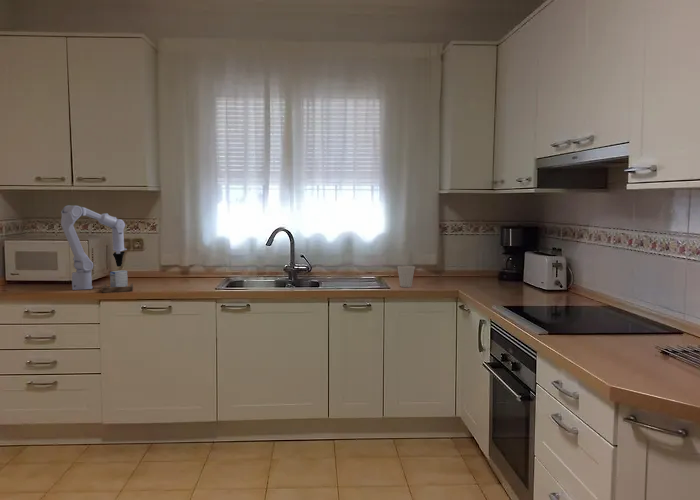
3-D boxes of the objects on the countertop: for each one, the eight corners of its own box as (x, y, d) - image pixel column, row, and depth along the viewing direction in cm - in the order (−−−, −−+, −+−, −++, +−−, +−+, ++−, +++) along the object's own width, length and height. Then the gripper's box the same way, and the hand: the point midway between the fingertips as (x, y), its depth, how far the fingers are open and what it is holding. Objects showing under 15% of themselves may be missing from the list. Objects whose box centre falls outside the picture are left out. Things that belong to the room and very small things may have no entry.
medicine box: (122, 285, 326) (122, 270, 325) (128, 286, 324) (127, 270, 323) (110, 287, 319) (109, 271, 318) (115, 288, 317) (115, 272, 316)
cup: (409, 285, 333) (410, 265, 332) (418, 287, 324) (418, 267, 323) (393, 285, 330) (393, 266, 329) (401, 288, 320) (401, 268, 319)
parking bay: (102, 292, 302) (102, 287, 302) (103, 289, 313) (103, 284, 313) (132, 291, 307) (132, 286, 307) (133, 288, 318) (133, 283, 317)
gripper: (125, 241, 322) (126, 266, 323) (126, 239, 336) (127, 263, 337) (111, 242, 320) (112, 267, 321) (113, 240, 333) (114, 264, 335)
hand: (119, 265), depth 329 cm, fingers open, 7 cm apart
